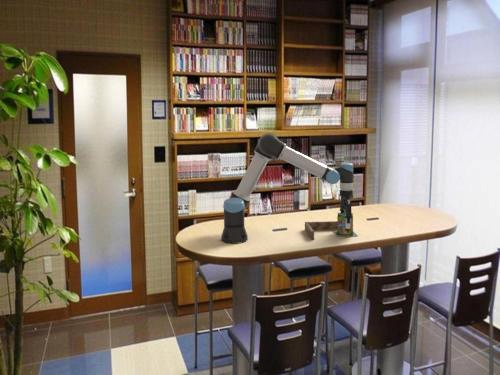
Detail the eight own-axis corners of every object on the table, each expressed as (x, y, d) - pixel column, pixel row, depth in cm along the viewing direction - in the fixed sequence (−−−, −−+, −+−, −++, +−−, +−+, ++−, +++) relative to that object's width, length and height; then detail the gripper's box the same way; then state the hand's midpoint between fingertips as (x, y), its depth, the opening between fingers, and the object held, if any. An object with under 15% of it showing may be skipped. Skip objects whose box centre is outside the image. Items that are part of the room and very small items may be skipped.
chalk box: (353, 235, 269) (353, 210, 266) (337, 234, 271) (337, 210, 268) (353, 231, 278) (353, 207, 275) (337, 230, 280) (337, 207, 277)
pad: (337, 236, 268) (337, 236, 268) (332, 231, 280) (332, 230, 280) (357, 236, 268) (357, 235, 268) (352, 230, 280) (352, 230, 280)
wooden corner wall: (311, 239, 262) (311, 231, 261) (304, 229, 284) (304, 221, 283) (360, 238, 264) (361, 230, 263) (350, 228, 285) (350, 220, 285)
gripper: (358, 192, 258) (357, 231, 262) (347, 186, 281) (346, 221, 285) (344, 193, 258) (343, 231, 262) (335, 186, 281) (334, 221, 285)
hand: (345, 226), depth 273 cm, fingers open, 11 cm apart
